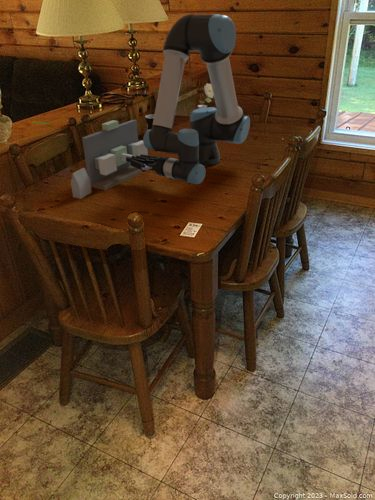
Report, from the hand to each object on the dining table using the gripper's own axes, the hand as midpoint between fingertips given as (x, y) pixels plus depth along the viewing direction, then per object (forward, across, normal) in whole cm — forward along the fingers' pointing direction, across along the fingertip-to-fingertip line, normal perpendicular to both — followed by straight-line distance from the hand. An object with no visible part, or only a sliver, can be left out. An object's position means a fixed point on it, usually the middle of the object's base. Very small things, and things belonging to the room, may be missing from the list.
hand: (122, 156), depth 179 cm
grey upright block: (+2, -22, -9) cm, 24 cm away
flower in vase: (+7, +74, -9) cm, 75 cm away
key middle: (+5, 0, -3) cm, 6 cm away
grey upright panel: (+5, 0, -9) cm, 10 cm away
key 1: (+2, -10, -3) cm, 11 cm away
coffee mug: (+27, +56, -9) cm, 63 cm away
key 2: (+2, +10, -3) cm, 11 cm away
